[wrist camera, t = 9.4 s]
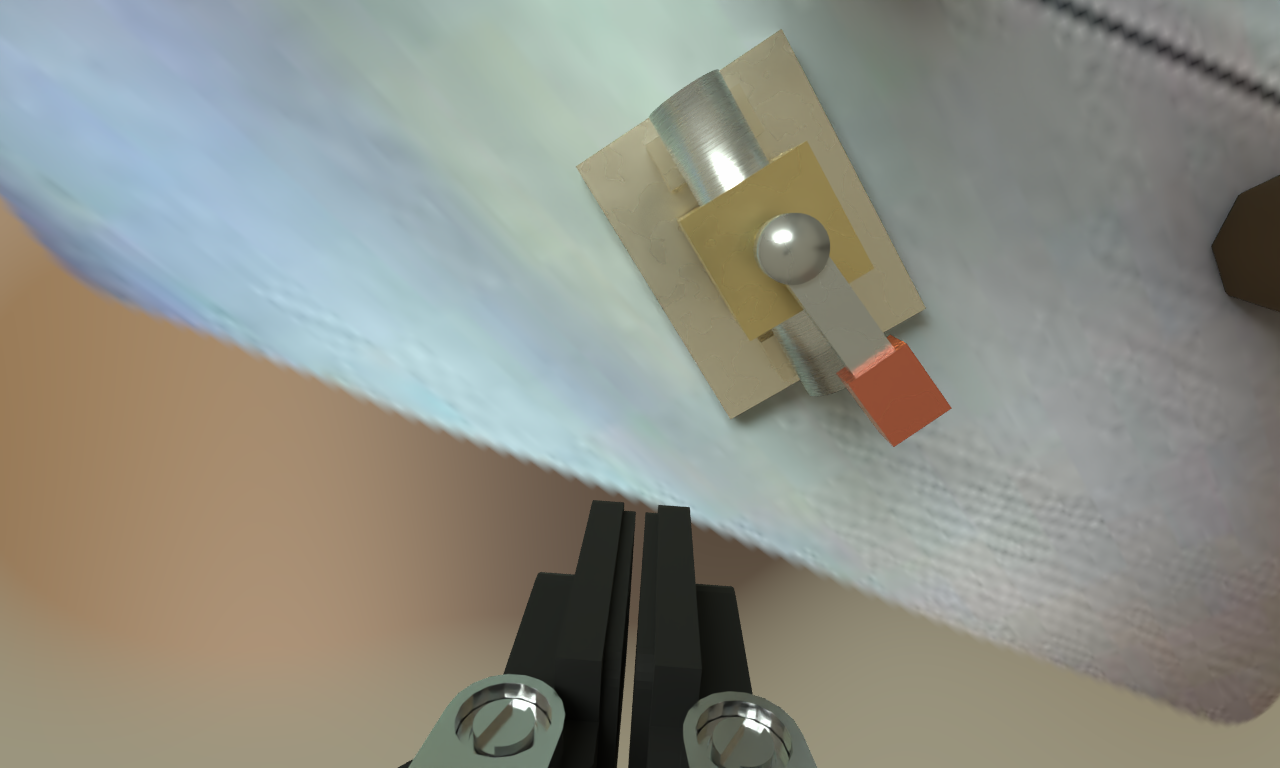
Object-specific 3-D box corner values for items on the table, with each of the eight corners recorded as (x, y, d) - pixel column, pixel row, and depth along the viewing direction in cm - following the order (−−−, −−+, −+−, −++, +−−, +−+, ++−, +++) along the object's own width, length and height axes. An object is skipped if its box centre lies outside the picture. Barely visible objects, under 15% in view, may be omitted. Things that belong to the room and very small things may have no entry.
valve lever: (739, 241, 25) (745, 243, 24) (794, 198, 25) (804, 197, 23) (878, 432, 27) (893, 447, 25) (932, 395, 27) (951, 408, 25)
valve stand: (776, 37, 33) (827, -43, 23) (915, 304, 36) (1015, 340, 26) (579, 168, 35) (545, 149, 25) (728, 411, 38) (752, 483, 28)
